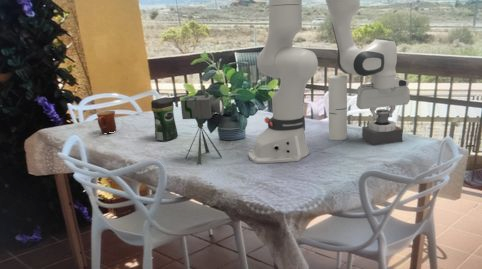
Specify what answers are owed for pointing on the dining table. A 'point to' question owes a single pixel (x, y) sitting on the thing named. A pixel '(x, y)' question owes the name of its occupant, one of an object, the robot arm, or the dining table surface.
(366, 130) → the camera body
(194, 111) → the camera
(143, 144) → the dining table surface
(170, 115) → the coffee jar
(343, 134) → the cylindrical container
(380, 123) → the lens
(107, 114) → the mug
